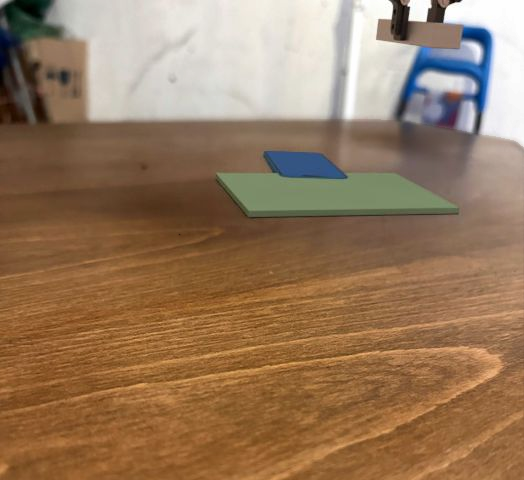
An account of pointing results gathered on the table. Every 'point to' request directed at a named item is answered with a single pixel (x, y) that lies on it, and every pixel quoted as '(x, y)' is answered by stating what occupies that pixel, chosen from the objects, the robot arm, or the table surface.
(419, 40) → the strip
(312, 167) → the smartphone
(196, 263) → the table surface
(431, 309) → the table surface
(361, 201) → the mat
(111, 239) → the table surface
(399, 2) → the robot arm
